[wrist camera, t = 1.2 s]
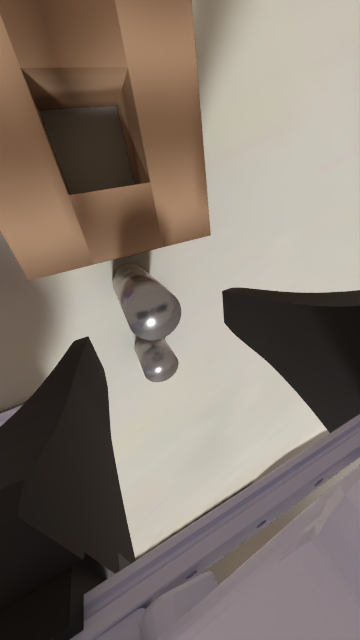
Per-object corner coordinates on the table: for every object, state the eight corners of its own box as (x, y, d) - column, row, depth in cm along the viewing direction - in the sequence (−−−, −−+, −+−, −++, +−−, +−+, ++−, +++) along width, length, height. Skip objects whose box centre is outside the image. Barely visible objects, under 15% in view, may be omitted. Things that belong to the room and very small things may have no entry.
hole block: (187, 232, 18) (210, 235, 15) (40, 267, 15) (28, 280, 12) (158, 16, 12) (186, -59, 9) (-96, -1, 9) (-201, -127, 6)
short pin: (166, 351, 23) (180, 373, 20) (139, 361, 22) (149, 387, 19) (160, 327, 21) (175, 347, 18) (131, 337, 20) (139, 361, 17)
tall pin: (152, 293, 19) (184, 329, 13) (119, 304, 18) (136, 347, 12) (144, 260, 18) (176, 282, 12) (107, 269, 17) (120, 299, 11)
